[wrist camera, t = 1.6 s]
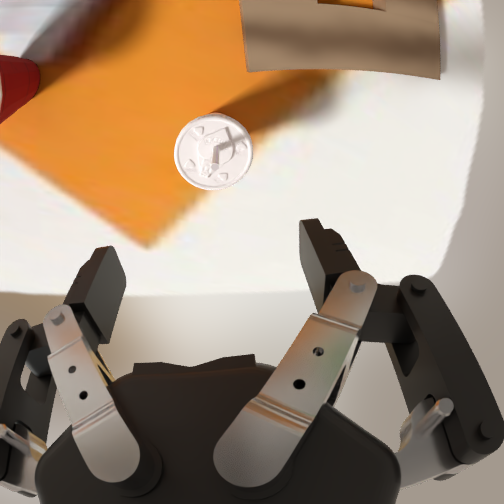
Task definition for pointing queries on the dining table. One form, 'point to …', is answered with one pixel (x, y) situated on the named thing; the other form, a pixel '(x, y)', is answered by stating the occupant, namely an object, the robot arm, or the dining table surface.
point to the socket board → (342, 36)
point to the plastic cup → (16, 84)
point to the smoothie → (213, 151)
